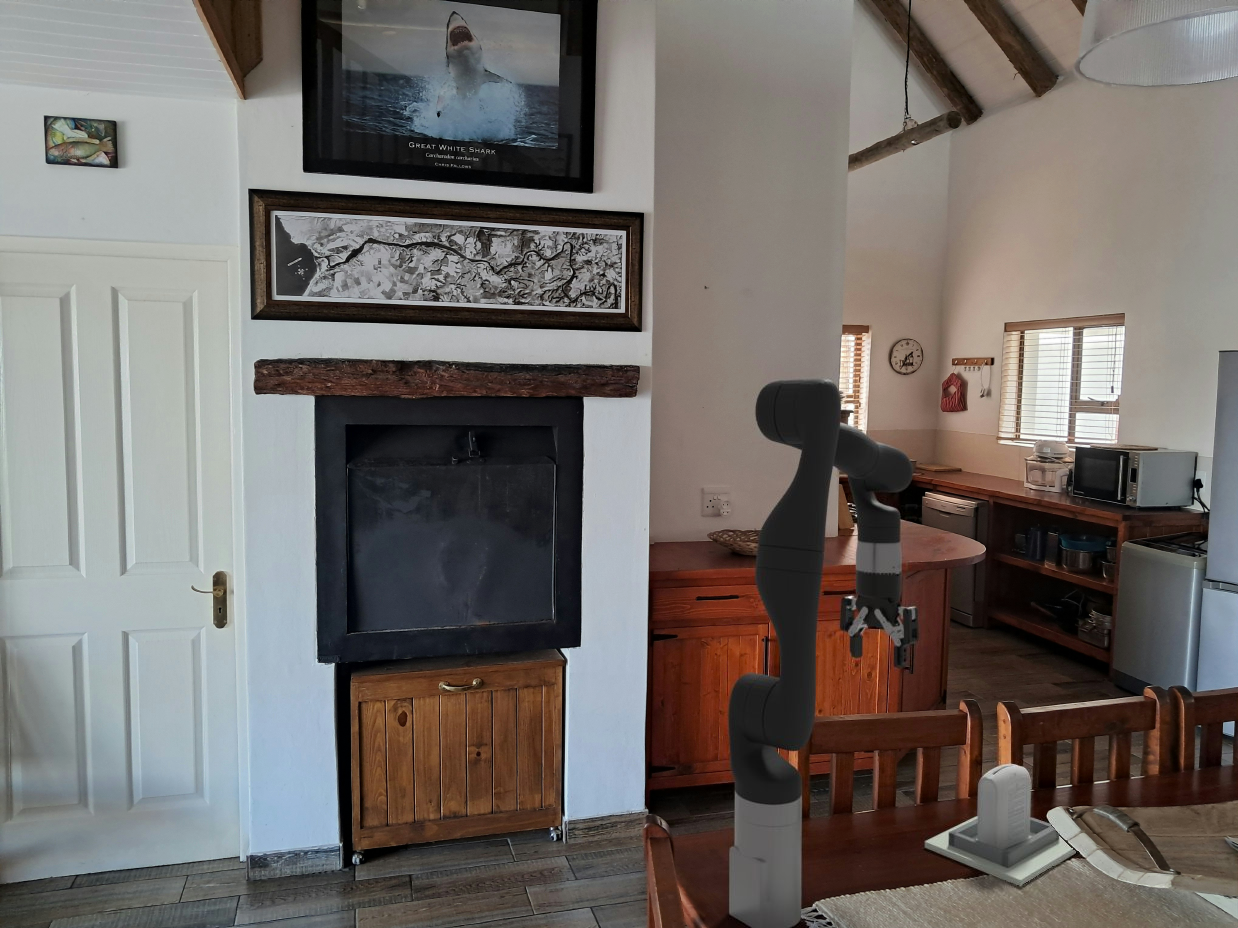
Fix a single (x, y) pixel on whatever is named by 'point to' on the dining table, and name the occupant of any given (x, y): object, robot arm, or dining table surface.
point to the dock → (1004, 851)
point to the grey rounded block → (1004, 806)
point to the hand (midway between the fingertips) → (877, 662)
